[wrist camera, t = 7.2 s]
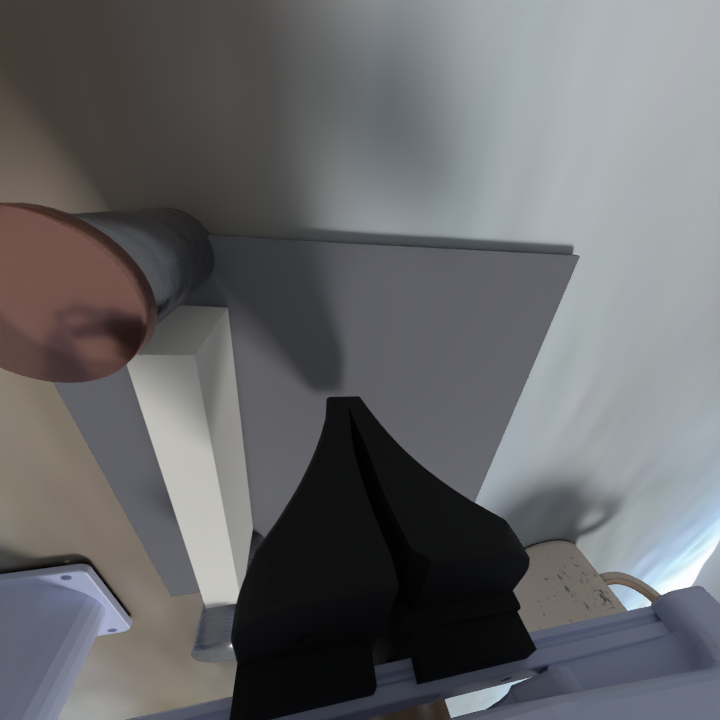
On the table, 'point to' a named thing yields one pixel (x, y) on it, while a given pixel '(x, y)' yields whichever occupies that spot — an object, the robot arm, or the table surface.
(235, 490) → the white long block
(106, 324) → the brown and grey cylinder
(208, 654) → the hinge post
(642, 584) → the teacup with lid
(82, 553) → the table surface
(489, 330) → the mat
